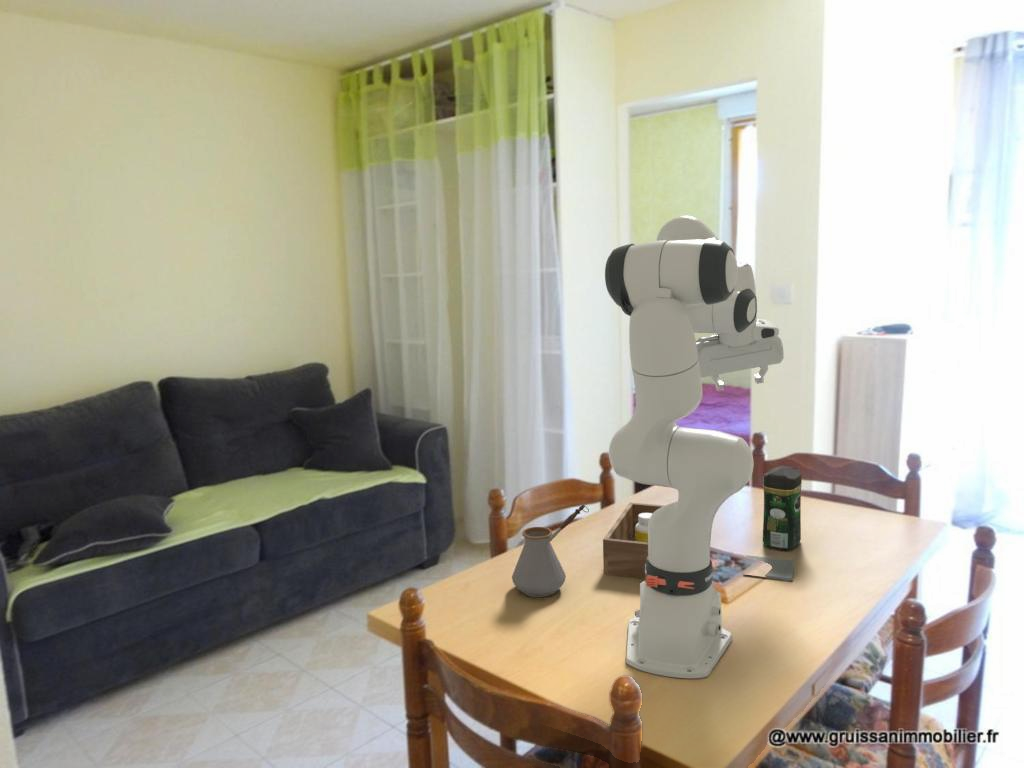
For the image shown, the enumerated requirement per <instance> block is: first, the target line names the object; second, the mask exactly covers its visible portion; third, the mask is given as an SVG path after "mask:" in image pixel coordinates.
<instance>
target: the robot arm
mask: <svg viewBox="0 0 1024 768" xmlns="http://www.w3.org/2000/svg"><path fill="white" fill-rule="evenodd" d="M604 267H605V268H604V278H605V279H604V280H605V281H604V282H605V287H606V290H607V293H608V295H609V296H610V297H611V299H612V300H613V302H614V303H615V304H616V305H617V306H618V307H620V308H621V311H622V312H623V313H624V314H625V315H627V316H629V327H628V328H629V329H628V330H629V331H628V332H629V337H628V339H629V340H628V341H629V354H630V355H629V356H630V362H631V363H630V364H631V369H632V371H631V372H632V376H633V385H634V391H635V392H634V393H635V408H634V412H633V415H632V417H631V419H629V421H628V422H627V423H625V424H624V425H623V426H621V427H620V428H619V429H618V430H617V431H616V432H615V434H614V435H613V436H612V439H611V441H610V443H609V448H608V458H609V462H610V466H611V468H612V469H613V471H614V473H615V474H616V475H617V476H619V477H621V478H624V479H626V480H629V481H632V482H635V483H638V484H640V485H648V486H657V487H662V488H669V489H671V488H672V489H675V490H677V494H678V497H677V501H675V502H674V501H673V502H671V503H668V504H665V505H664V506H663V507H661V508H659V509H657V510H656V511H655V512H654V513H653V514H652V515H651V517H650V519H649V522H648V556H647V558H646V564H645V579H644V580H643V581H642V582H640V583H639V602H640V603H639V604H640V605H639V609H635V611H634V615H635V616H633V617H630V618H629V619H628V624H627V626H628V627H627V640H626V654H625V663H626V664H628V665H629V666H630V667H632V668H635V669H637V670H640V671H642V672H645V673H649V674H654V675H659V676H664V677H671V678H676V679H702V678H707V677H708V676H709V675H710V673H712V671H713V669H714V668H715V666H716V665H717V663H718V661H719V660H720V658H721V657H722V655H723V654H724V653H725V651H726V649H728V646H730V644H731V643H732V641H733V638H732V636H733V635H732V633H731V632H730V631H729V630H727V629H725V628H723V621H722V620H723V619H722V618H723V617H722V594H721V592H719V591H718V590H717V589H716V587H714V585H713V578H714V576H713V575H714V567H713V561H712V559H711V538H712V528H713V523H714V519H715V517H716V515H717V512H718V511H719V509H720V507H721V506H722V505H723V504H724V503H725V501H727V500H728V499H729V498H731V497H732V496H733V495H734V494H736V493H738V492H740V491H741V490H742V489H743V488H745V486H747V484H748V483H749V481H750V479H751V477H752V474H753V472H754V467H755V465H754V457H753V452H752V450H751V447H750V446H749V444H748V443H747V441H746V440H745V439H744V438H743V437H741V436H738V435H734V434H731V433H727V432H725V431H720V430H717V429H716V430H714V429H707V428H706V429H705V428H694V427H693V428H692V427H683V426H679V425H677V423H676V422H677V421H679V420H681V419H684V418H685V417H687V416H689V415H691V414H692V413H693V412H695V410H696V409H698V407H699V406H700V404H701V402H702V399H703V393H704V392H703V384H702V382H703V381H702V378H706V377H707V378H708V377H711V379H712V380H713V382H714V384H715V390H716V391H717V392H720V391H724V390H725V388H724V387H725V385H724V382H723V381H722V380H718V379H719V375H722V374H727V373H734V372H739V371H745V370H750V369H755V368H760V369H759V370H758V372H757V374H754V382H755V384H757V385H758V384H762V383H763V384H764V381H765V380H764V377H765V375H766V374H767V372H768V370H769V366H771V365H772V366H773V365H778V364H781V363H782V361H783V360H784V357H785V356H784V355H785V354H784V346H783V345H784V344H783V341H782V339H781V338H780V337H779V334H780V329H779V328H778V326H777V325H776V324H774V323H773V322H772V321H770V320H768V319H765V318H764V319H762V318H758V317H757V314H758V313H757V312H758V304H757V303H758V301H757V296H756V295H757V294H756V293H757V292H756V282H755V277H754V270H753V267H752V265H750V264H749V263H746V262H737V258H736V256H735V252H734V249H733V248H732V247H731V246H730V245H729V244H728V243H727V242H725V241H722V240H719V238H718V237H717V236H716V234H715V233H714V232H713V231H712V229H710V227H709V226H708V225H706V224H705V223H704V222H703V221H702V220H701V219H699V218H696V217H694V216H691V215H681V216H677V217H673V218H671V219H670V220H669V221H667V222H666V223H665V224H664V225H663V226H662V227H661V228H660V230H659V232H658V234H657V237H656V240H654V241H648V242H642V243H637V244H634V243H629V244H625V245H620V246H618V247H617V248H614V249H613V250H612V251H611V252H610V254H609V256H608V257H607V260H606V262H605V266H604ZM696 334H714V335H709V336H705V337H699V338H698V339H697V340H696Z"/></svg>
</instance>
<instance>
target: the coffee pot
mask: <svg viewBox="0 0 1024 768" xmlns="http://www.w3.org/2000/svg"><path fill="white" fill-rule="evenodd" d="M584 509H586V510H587V511H585V510H584ZM581 511H583V512H584V513H589V512H590V510H589V508H588V507H587V506H586V505H585V504H582V505H580V506H579V507H578V508H576V509H575V510H574V512H573V513H571V514H570V515H569V516H568V517H567V518H566V519H565V520H564V521H563V522H562V523H561V525H560V526H559V527H558V528H557V529H556V530H555V531H554V532H553V530H552V529H550V528H549V527H544V526H531V527H528V528H525V529H523V530H522V532H521V534H522V535H521V536H523V538H524V541H525V543H524V545H523V547H522V550H521V552H520V555H519V557H518V560H517V562H516V565H515V568H514V571H513V573H512V576H511V579H512V583H513V584H514V586H515V587H516V588H517V589H518V590H519V591H520V592H521V593H522V594H524V595H526V596H528V597H533V598H543V597H549V596H552V595H554V594H556V592H557V591H558V590H559V589H560V588H561V587H562V586H563V585H564V583H565V581H566V572H565V570H564V569H563V566H562V564H561V561H559V558H558V556H557V554H556V552H555V549H554V547H553V545H552V544H551V542H552V541H553V539H554V538H556V536H557V535H558V534H559V533H561V531H563V530H564V529H565V528H566V527H567V526H569V524H571V523H572V522H573V521H574V520H575V518H576V517H577V516H578V515H581Z"/></svg>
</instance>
